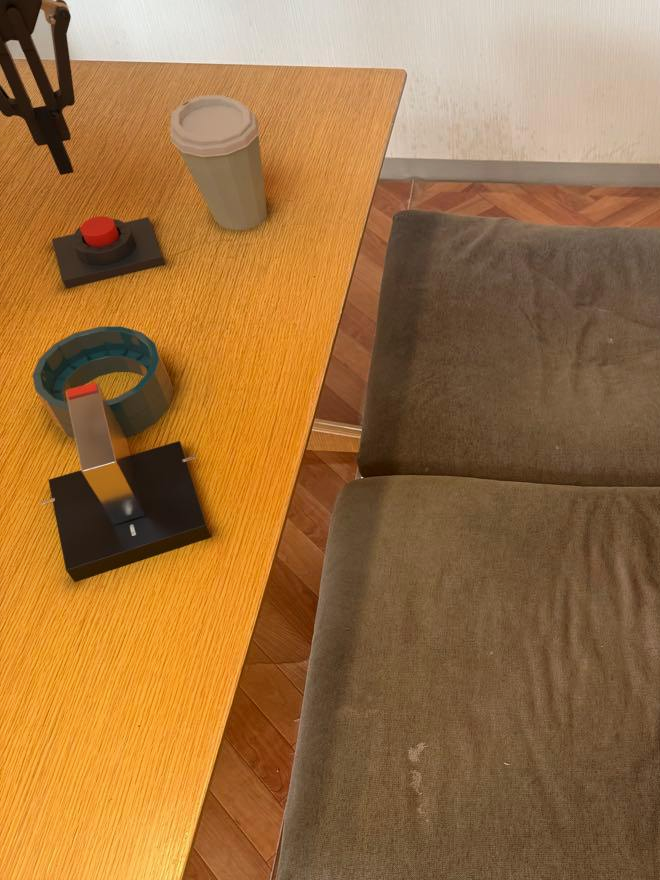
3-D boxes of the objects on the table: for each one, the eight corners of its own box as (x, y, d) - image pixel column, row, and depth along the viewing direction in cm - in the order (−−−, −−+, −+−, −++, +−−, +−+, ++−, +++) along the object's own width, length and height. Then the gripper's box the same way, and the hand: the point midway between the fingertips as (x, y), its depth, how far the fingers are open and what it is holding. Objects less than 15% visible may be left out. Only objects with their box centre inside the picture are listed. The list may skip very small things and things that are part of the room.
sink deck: (66, 591, 85) (52, 573, 82) (43, 470, 94) (30, 450, 91) (225, 539, 89) (217, 520, 87) (189, 427, 98) (180, 407, 95)
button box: (69, 295, 110) (55, 268, 107) (58, 253, 115) (45, 226, 111) (167, 271, 113) (157, 244, 110) (153, 231, 118) (143, 204, 115)
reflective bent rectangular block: (145, 515, 87) (115, 459, 80) (113, 525, 86) (80, 469, 79) (126, 438, 93) (96, 380, 86) (96, 446, 92) (63, 388, 85)
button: (88, 251, 109) (82, 238, 108) (83, 232, 111) (77, 220, 110) (121, 243, 110) (116, 231, 109) (116, 225, 113) (111, 213, 111)
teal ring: (65, 462, 94) (41, 423, 89) (49, 385, 101) (26, 344, 96) (186, 427, 98) (169, 388, 93) (162, 354, 104) (145, 314, 99)
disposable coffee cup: (298, 217, 121) (274, 108, 108) (240, 257, 115) (208, 148, 103) (241, 189, 124) (212, 81, 112) (183, 227, 119) (145, 118, 106)
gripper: (35, -90, 87) (118, 140, 106) (-112, -72, 84) (1, 162, 103) (45, -60, 83) (129, 172, 103) (-109, -40, 80) (8, 197, 99)
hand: (65, 167), depth 103 cm, fingers closed
